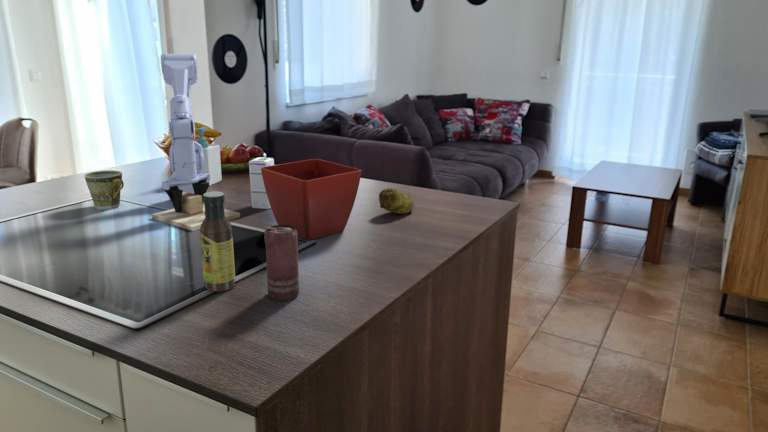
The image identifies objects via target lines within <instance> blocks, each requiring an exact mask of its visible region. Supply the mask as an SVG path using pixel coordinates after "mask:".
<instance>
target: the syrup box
mask: <svg viewBox="0 0 768 432" xmlns="http://www.w3.org/2000/svg"><path fill="white" fill-rule="evenodd" d="M273 165H275V159H274V157H265V156H264V157H263V156H262V157H259V156H258V157H256V158H254V159H252V160H249V161H248V170H249V184H250V185H249V186H250V198H251V208H253V209H259V210H261V209H262V210H263V209H264V210H270V209H271V206H270V203H269V200H268V197H267V194H266V190H265V186H264V182H263V177H262V172H261V168H262V167H267V166H273Z"/></svg>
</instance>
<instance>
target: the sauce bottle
mask: <svg viewBox="0 0 768 432" xmlns="http://www.w3.org/2000/svg"><path fill="white" fill-rule="evenodd" d="M225 200H226V197H225V194H224V192H222V191H208V192H207V191H206V193H204V194H203V203H204V205H205V219H204V221H203V222H202V224H201V227H200V229H199V239H200V253H201V265H202V279H203V281H204V283H203V285H204V288H205V289H206V290H208V291H211V292H217V293H219V292H226V291H229V290H231V289H234V286H235V282H236V280H235V279H236V278H235V277H236V271H235V270H236V269H235V255H234V253H235V252H234V239H233V233H232V232H233V231H232V230H233V229H232V224H231V222H230V220H229V221H228V219H227V218H226V217H225V211H224V209H225Z"/></svg>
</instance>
